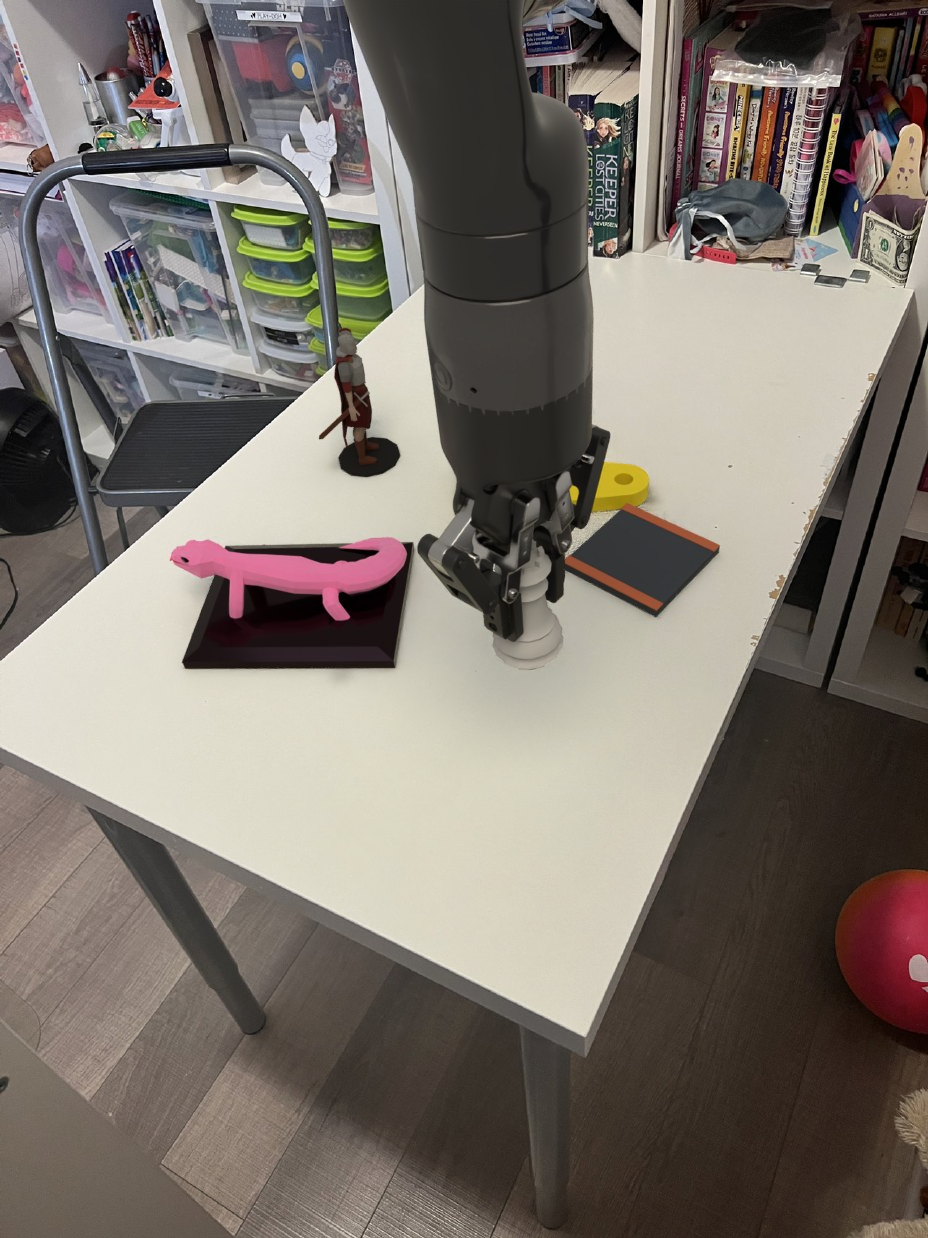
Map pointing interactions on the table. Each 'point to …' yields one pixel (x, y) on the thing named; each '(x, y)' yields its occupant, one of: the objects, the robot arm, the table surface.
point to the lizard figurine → (298, 604)
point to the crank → (618, 487)
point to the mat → (641, 558)
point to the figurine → (358, 416)
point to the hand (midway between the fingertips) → (526, 612)
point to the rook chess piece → (533, 619)
